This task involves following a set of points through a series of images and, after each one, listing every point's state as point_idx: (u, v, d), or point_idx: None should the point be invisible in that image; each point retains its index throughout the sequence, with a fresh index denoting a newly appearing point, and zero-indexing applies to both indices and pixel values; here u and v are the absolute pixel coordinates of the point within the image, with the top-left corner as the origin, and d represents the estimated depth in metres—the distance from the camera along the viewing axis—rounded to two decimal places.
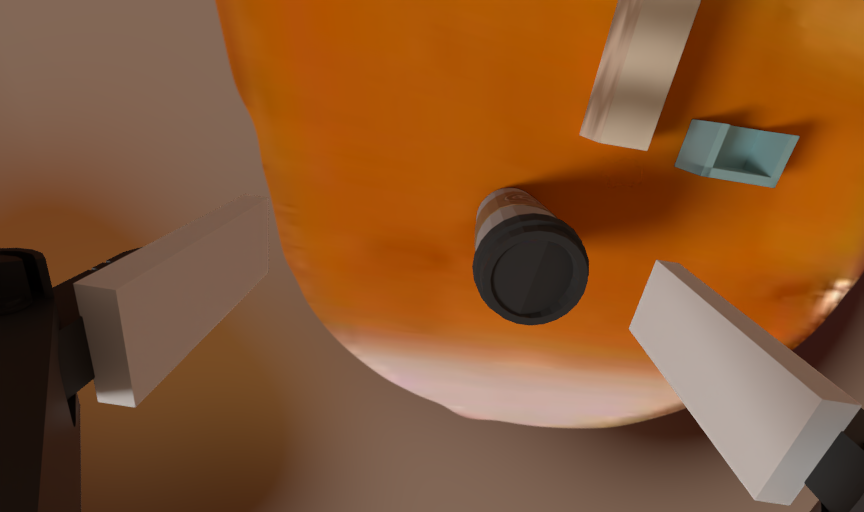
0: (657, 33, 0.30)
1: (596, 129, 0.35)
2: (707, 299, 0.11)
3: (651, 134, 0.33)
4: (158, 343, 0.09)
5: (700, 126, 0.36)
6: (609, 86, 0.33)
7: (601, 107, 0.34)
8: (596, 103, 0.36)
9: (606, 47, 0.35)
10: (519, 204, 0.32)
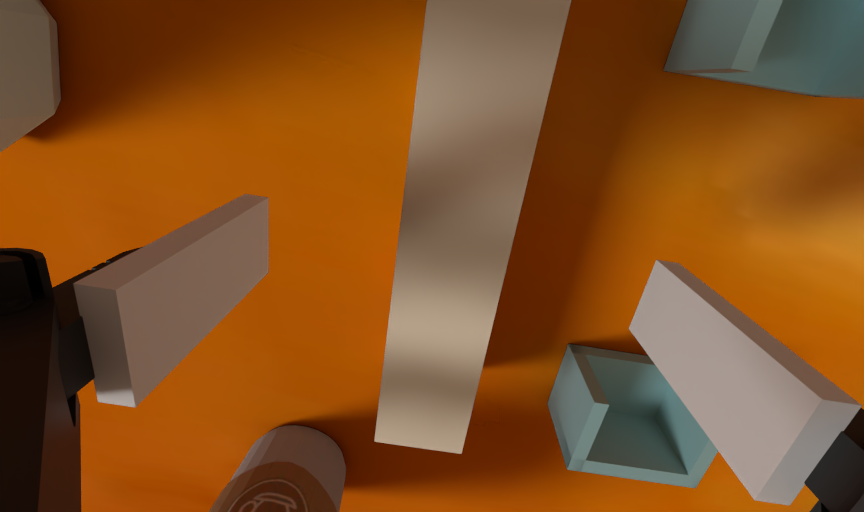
0: (439, 286, 0.15)
1: None
2: (707, 299, 0.11)
3: (463, 432, 0.18)
4: (158, 343, 0.09)
5: (574, 371, 0.21)
6: None
7: None
8: None
9: None
10: None
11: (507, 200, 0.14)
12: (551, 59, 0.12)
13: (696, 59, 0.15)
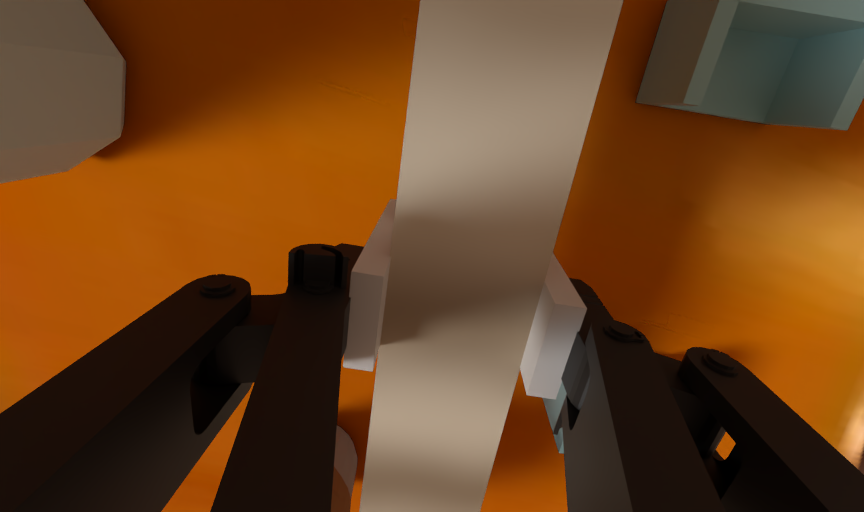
0: (437, 369, 0.12)
1: None
2: None
3: None
4: (381, 321, 0.11)
5: None
6: None
7: None
8: None
9: None
10: None
11: (529, 262, 0.10)
12: (593, 77, 0.09)
13: (659, 94, 0.18)
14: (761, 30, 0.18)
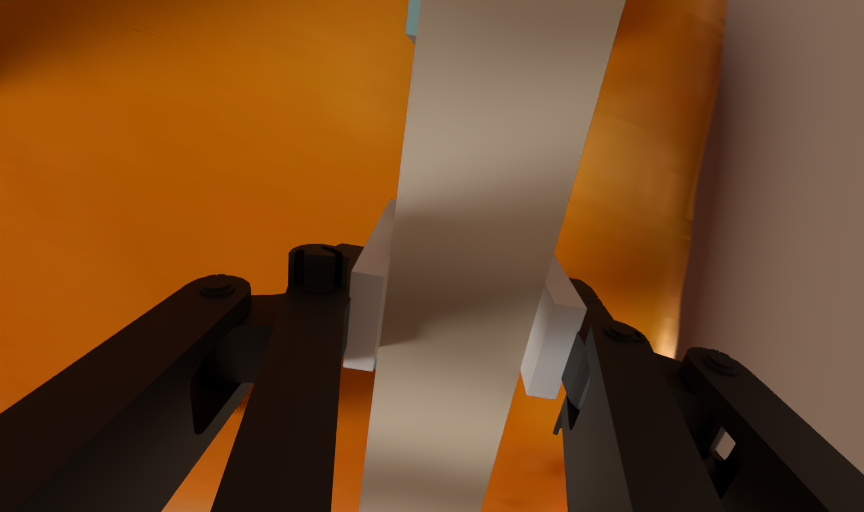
0: (436, 372, 0.12)
1: None
2: None
3: None
4: (381, 321, 0.11)
5: None
6: None
7: None
8: None
9: None
10: None
11: (529, 265, 0.10)
12: (595, 79, 0.09)
13: None
14: None
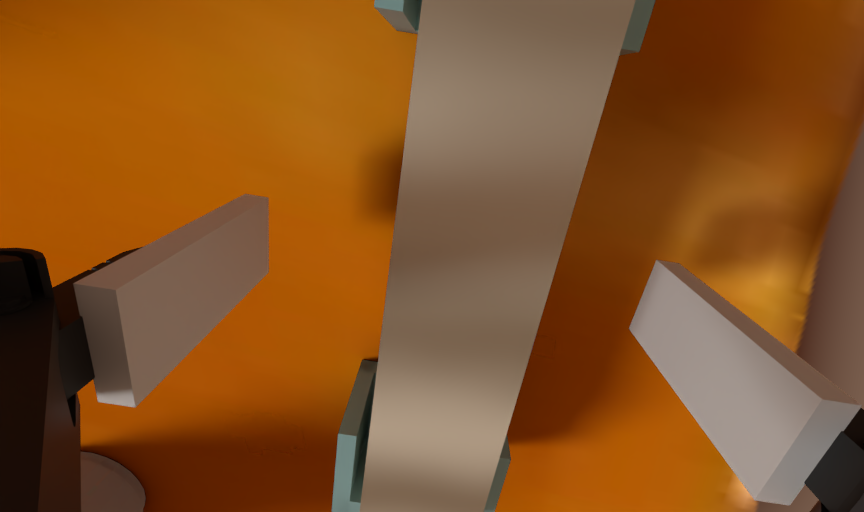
0: (438, 382, 0.11)
1: None
2: (707, 299, 0.11)
3: None
4: (158, 343, 0.09)
5: None
6: None
7: None
8: None
9: None
10: None
11: (532, 276, 0.10)
12: (601, 87, 0.08)
13: None
14: None
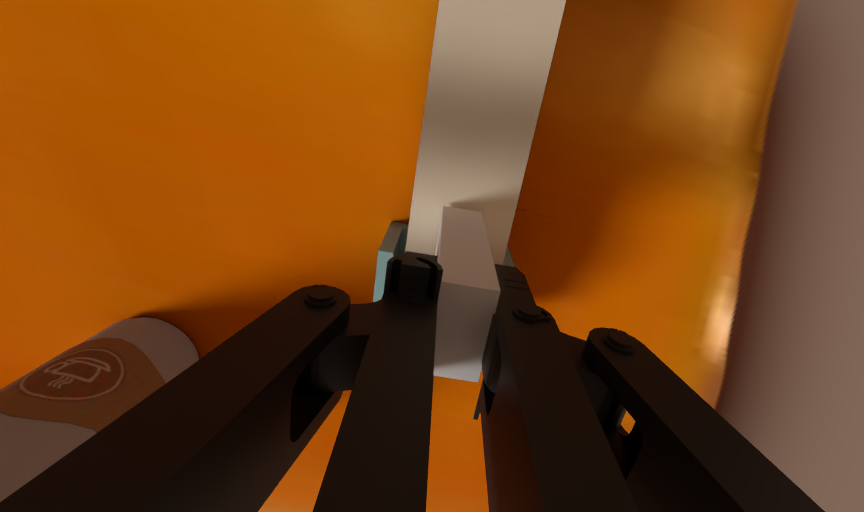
0: (464, 164, 0.15)
1: None
2: (468, 232, 0.13)
3: None
4: None
5: None
6: None
7: None
8: None
9: None
10: None
11: (535, 65, 0.14)
12: None
13: None
14: None
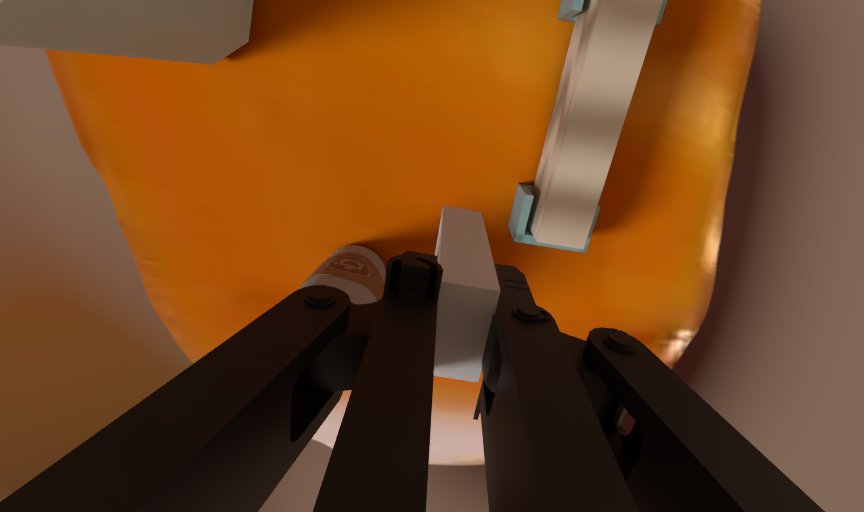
0: (586, 145, 0.31)
1: (535, 225, 0.36)
2: (468, 232, 0.13)
3: (586, 234, 0.34)
4: None
5: (519, 192, 0.38)
6: (545, 187, 0.34)
7: (540, 205, 0.35)
8: (537, 197, 0.37)
9: (546, 144, 0.36)
10: (327, 274, 0.34)
11: (624, 99, 0.30)
12: (649, 33, 0.28)
13: (565, 9, 0.32)
14: None
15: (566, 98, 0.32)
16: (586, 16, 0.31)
